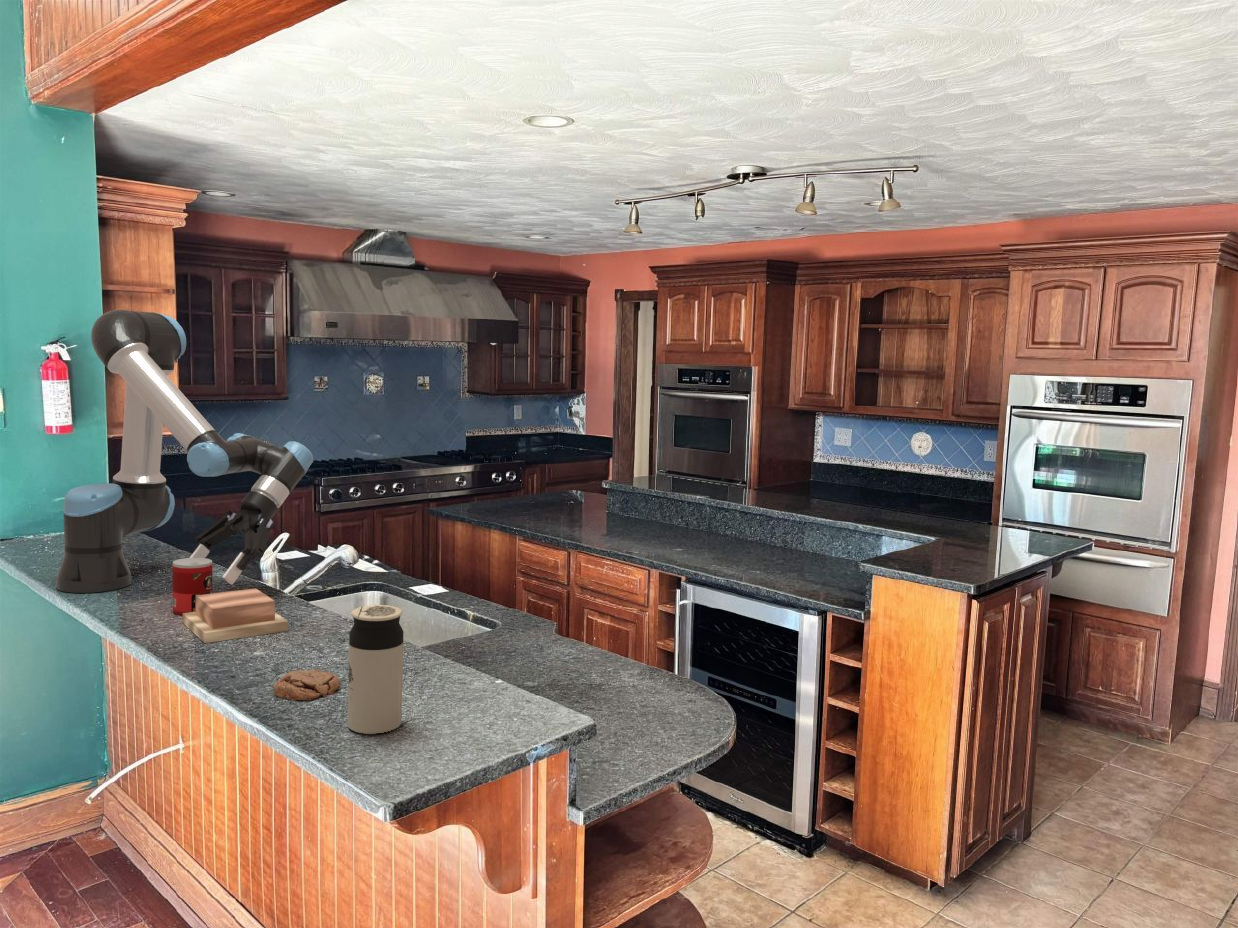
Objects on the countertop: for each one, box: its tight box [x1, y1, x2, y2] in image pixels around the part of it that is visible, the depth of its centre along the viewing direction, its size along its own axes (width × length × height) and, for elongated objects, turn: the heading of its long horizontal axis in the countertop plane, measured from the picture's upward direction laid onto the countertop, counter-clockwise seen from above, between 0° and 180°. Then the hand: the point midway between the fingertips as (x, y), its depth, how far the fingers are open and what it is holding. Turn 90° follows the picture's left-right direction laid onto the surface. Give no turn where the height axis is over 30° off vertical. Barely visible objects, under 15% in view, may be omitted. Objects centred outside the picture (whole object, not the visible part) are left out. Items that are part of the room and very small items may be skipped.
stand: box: [182, 587, 289, 644], centre depth 183 cm, size 16×16×6 cm
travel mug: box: [347, 604, 405, 735], centre depth 136 cm, size 8×8×18 cm
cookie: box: [273, 669, 341, 701], centre depth 150 cm, size 10×11×3 cm
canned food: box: [171, 557, 213, 616], centre depth 192 cm, size 8×8×11 cm
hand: (206, 576), depth 193 cm, fingers open, 13 cm apart
